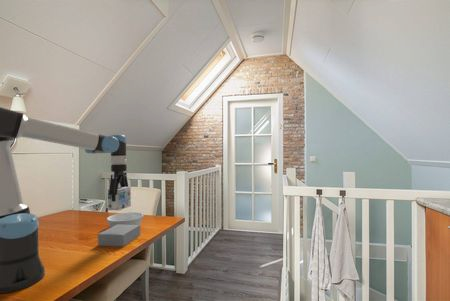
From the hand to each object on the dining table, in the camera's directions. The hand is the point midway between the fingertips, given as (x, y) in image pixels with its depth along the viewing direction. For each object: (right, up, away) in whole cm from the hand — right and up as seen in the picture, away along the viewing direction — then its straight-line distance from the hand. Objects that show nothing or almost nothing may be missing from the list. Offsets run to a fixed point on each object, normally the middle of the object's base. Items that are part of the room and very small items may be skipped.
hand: (119, 204), depth 124 cm
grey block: (0, -19, 0) cm, 19 cm away
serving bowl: (-6, -19, +22) cm, 30 cm away
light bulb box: (0, -2, 0) cm, 2 cm away
